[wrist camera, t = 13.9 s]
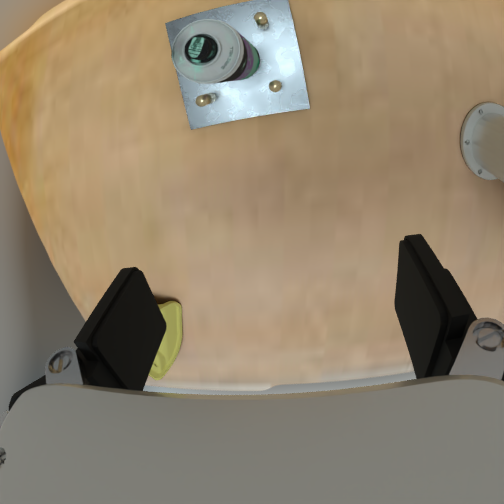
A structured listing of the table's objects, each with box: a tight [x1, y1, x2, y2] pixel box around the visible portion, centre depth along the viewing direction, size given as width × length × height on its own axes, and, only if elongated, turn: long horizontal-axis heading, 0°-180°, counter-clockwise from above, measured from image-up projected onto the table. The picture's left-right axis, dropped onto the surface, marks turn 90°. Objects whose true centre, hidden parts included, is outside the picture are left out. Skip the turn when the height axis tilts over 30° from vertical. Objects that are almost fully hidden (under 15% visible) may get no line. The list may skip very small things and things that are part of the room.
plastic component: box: [149, 301, 182, 380], centre depth 62 cm, size 20×7×10 cm
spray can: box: [172, 19, 260, 84], centre depth 26 cm, size 6×6×20 cm
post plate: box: [165, 0, 310, 130], centre depth 33 cm, size 16×16×6 cm
